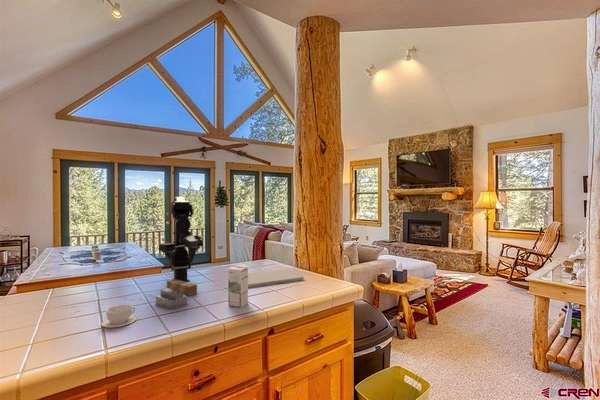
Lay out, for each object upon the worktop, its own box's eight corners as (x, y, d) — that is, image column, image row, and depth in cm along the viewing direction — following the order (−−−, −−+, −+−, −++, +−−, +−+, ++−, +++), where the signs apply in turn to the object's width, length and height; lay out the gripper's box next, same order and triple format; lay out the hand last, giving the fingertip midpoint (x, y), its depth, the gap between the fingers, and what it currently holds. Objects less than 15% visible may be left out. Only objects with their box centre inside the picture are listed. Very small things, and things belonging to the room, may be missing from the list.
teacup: (110, 331, 92) (110, 316, 92) (95, 324, 98) (95, 310, 98) (142, 320, 101) (142, 306, 101) (126, 314, 106) (126, 301, 106)
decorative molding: (302, 285, 151) (294, 275, 160) (304, 276, 150) (295, 267, 159) (236, 295, 136) (231, 284, 144) (237, 285, 135) (231, 275, 143)
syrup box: (248, 302, 117) (248, 266, 117) (240, 308, 112) (240, 269, 112) (235, 301, 119) (235, 265, 119) (227, 306, 114) (227, 268, 114)
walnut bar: (167, 289, 135) (166, 281, 135) (175, 287, 138) (175, 279, 138) (188, 296, 126) (188, 286, 126) (196, 293, 129) (196, 284, 129)
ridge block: (155, 304, 116) (155, 291, 116) (172, 298, 122) (172, 286, 122) (170, 309, 110) (170, 295, 110) (187, 303, 116) (187, 290, 116)
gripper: (174, 232, 120) (174, 271, 120) (211, 228, 135) (211, 263, 136) (158, 230, 126) (158, 267, 126) (195, 227, 142) (195, 260, 142)
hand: (182, 264), depth 132 cm, fingers open, 9 cm apart
